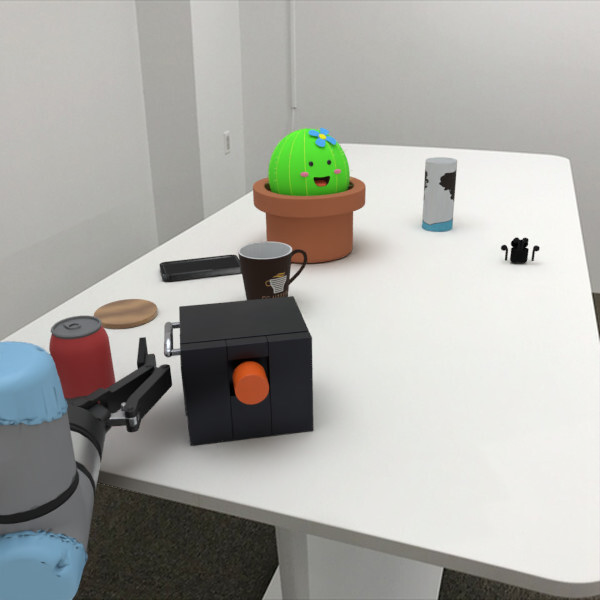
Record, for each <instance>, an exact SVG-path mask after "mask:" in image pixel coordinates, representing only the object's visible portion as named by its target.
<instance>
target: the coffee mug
mask: <svg viewBox="0 0 600 600" xmlns="http://www.w3.org/2000/svg"><path fill="white" fill-rule="evenodd" d="M296 253H302V254H303V256H304V262H303V263H301V266H300V267H299V269H298V270H297V271H296V272H295V273H294V274H293V276H291V269H292V268H291V267H292V262H291V259H292V256H293V255H294V254H296ZM237 254H238V255H237V256H238V258H239V260H240V266H241V271H242V272H241V275H242V281H243V288H244V293H245V300H256V299H267V298H278V297H289V292H290V291H289V290H290V285H291V284H292V283H293V282H294V281H295V280H297V278H298V277H300V275H301V274H302V272H303V271H304V269H305V268H306V266H307V264H308V263H307V254H306V252H305V251H303V250H300V249H296V250H293V251H292V247H291V246H289V245H287V244H285V243H280V242H267V241H256V242H251V243H246V244H244V245H241V246H240V247H239V248H238V249H237Z"/></svg>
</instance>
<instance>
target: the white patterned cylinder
mask: <svg viewBox="0 0 600 600" xmlns="http://www.w3.org/2000/svg"><path fill="white" fill-rule="evenodd" d="M424 166H425V167H424V183H423V199H422V201H423V203H422V220H421V228H422V229H423V230H426V231H428V232H435V233H436V232H437V233H439V232H441V233H442V232H448V231H451V230H452V229H453V226H454V225H453V224H454V223H453V222H454V212H455V198H456V197H455V196H456V184H457V172H458V171H457V170H458V169H457V168H458V159H456V158H452V157H446V156H445V157H444V156H438V157H437V156H436V157H428V158H426V159H425V165H424Z"/></svg>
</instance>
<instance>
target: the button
mask: <svg viewBox="0 0 600 600" xmlns="http://www.w3.org/2000/svg"><path fill="white" fill-rule="evenodd" d="M233 384H234V390H235V394H236V397H237V398H238V399H239V400H240V401H241V402H243V403H245V404H257V403H259V402H261V401H263V400H264V399H265V398H266V396H267V395H268V392H269V384H268V380H267V377H266V373H265V370H264V368H263V367H262V366H261V365H260V364H259V363H257V362H253V361H248V362H244V363H241V364H240V365H238V366H237V367H236V368H235V370H234V372H233Z"/></svg>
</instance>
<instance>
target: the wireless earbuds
mask: <svg viewBox="0 0 600 600" xmlns="http://www.w3.org/2000/svg"><path fill="white" fill-rule="evenodd" d="M529 240H530V239H529V238H528V237H523V238H522V239H520V238H519V237H518V236H517V237H514V238H513V240H511V242H510V246H511V248H510V257H509V261H510V262H511V263H512V264H526V263H527V262H528V257H529V250H530V249H529V248H528V246H529ZM540 249H541V248H540V246H539V245H537V244H536V245H533V247H532V252H531V253H532V254H531V262H534V261H535V254H536V252H539V251H540ZM500 250H501V251H504V253H505V255H504V261H505V262H506V261H508V255H509V248H508V246H507V245H506V244H502V245H501V246H500Z"/></svg>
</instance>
